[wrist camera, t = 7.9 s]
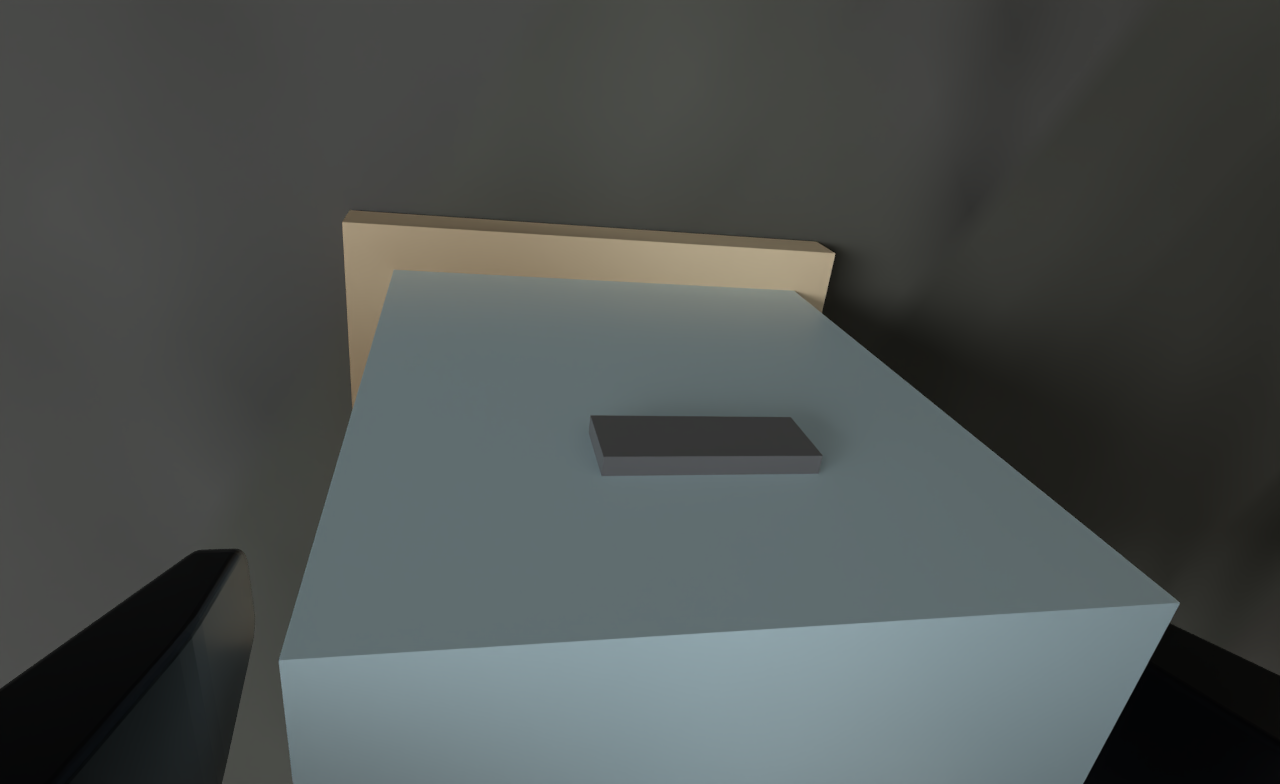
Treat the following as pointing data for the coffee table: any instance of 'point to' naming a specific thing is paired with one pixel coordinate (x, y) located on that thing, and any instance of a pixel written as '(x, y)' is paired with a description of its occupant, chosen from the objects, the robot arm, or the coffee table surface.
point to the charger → (687, 560)
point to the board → (558, 260)
